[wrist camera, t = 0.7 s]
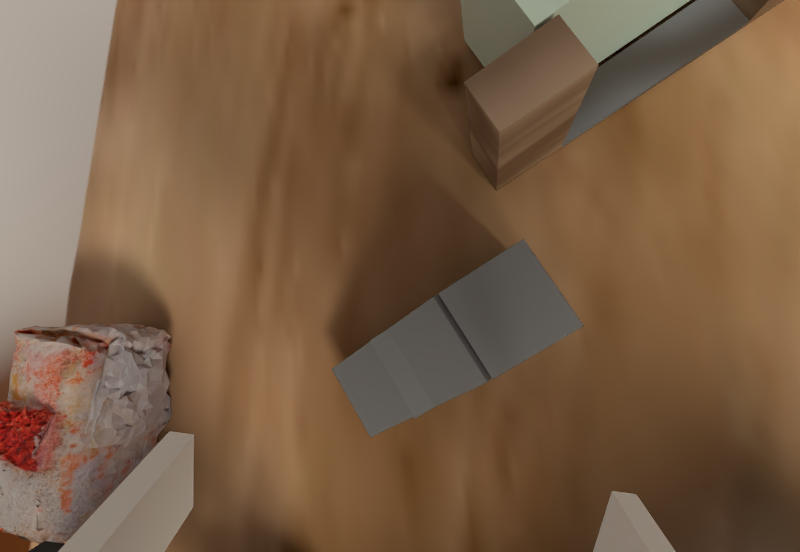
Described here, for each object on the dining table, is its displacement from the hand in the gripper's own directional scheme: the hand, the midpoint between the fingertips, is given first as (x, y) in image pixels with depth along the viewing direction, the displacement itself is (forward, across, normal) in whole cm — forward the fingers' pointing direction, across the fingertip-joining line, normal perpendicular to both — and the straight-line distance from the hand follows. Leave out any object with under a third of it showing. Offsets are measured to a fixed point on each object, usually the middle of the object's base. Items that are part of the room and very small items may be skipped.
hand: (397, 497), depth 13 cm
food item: (+19, +20, +11) cm, 30 cm away
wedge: (+16, -3, +1) cm, 16 cm away
